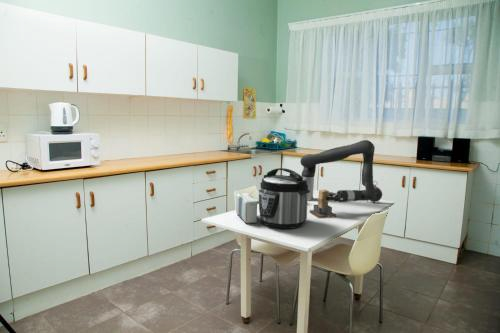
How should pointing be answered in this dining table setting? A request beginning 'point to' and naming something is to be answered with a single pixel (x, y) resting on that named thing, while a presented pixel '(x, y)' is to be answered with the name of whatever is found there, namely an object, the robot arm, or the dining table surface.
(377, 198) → the alarm clock
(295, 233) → the dining table surface
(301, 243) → the dining table surface
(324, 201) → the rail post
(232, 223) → the dining table surface
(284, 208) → the pressure cooker
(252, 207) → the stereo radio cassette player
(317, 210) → the socket board
